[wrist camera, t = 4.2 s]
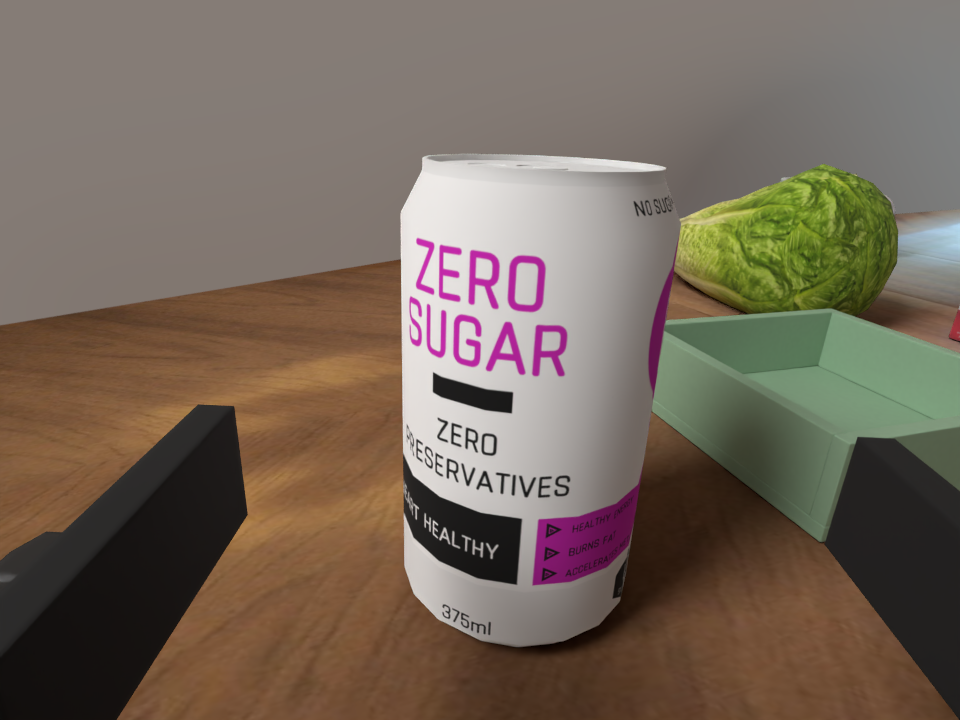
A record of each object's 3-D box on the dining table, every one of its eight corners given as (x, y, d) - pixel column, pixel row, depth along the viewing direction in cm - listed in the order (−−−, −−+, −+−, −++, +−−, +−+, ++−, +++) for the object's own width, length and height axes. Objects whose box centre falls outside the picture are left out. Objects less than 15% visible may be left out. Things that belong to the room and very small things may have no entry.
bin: (1063, 489, 30) (1103, 402, 28) (820, 543, 25) (850, 443, 24) (814, 371, 44) (831, 307, 42) (626, 392, 39) (636, 322, 37)
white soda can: (600, 512, 27) (647, 159, 21) (645, 668, 19) (737, 179, 14) (418, 505, 27) (418, 149, 21) (390, 658, 19) (380, 165, 14)
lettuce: (615, 301, 70) (716, 304, 75) (783, 336, 47) (912, 337, 52) (629, 175, 67) (733, 186, 72) (814, 148, 44) (947, 168, 49)
